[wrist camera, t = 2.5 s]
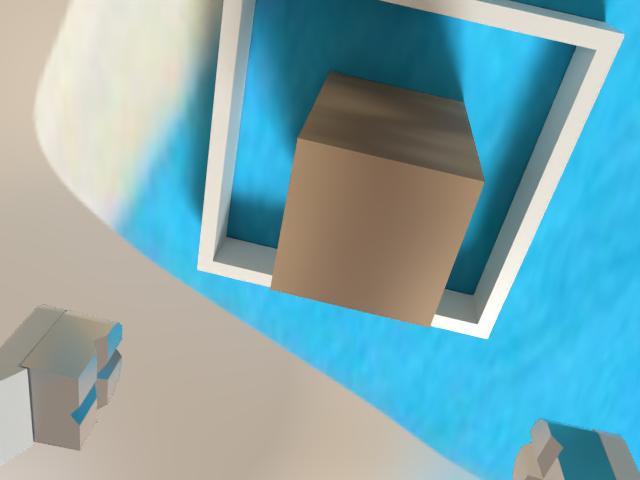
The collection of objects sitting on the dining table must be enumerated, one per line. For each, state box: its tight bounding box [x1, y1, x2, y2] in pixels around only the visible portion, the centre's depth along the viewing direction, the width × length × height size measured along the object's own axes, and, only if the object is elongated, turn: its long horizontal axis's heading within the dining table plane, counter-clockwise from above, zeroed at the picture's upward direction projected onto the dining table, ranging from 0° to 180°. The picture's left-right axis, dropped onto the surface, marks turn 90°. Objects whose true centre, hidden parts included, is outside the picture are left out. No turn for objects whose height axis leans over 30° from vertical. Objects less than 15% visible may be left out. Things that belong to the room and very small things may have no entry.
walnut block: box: [270, 71, 485, 328], centre depth 19 cm, size 5×5×7 cm
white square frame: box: [197, 0, 625, 339], centre depth 21 cm, size 12×12×2 cm
